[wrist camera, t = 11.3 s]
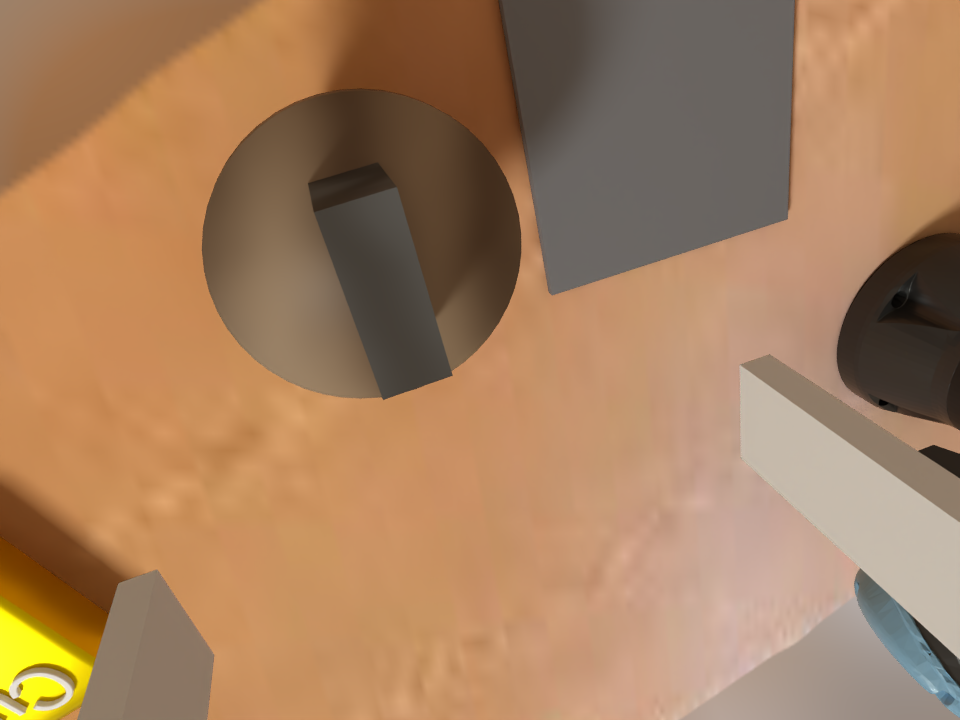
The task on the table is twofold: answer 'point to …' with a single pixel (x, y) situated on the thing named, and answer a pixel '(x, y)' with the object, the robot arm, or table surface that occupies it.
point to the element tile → (43, 640)
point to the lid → (361, 244)
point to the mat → (649, 125)
